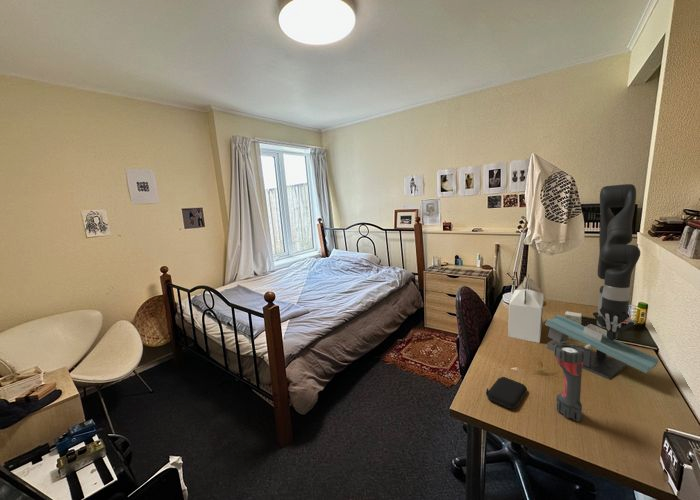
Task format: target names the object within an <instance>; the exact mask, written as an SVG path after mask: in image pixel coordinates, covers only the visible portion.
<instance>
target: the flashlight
mask: <svg viewBox="0 0 700 500" xmlns="http://www.w3.org/2000/svg"><path fill="white" fill-rule="evenodd" d="M566 342H567V341H565V342H560V344H555V349H554V351H553V353H554V354H553V356H555V360H556V363H558V365H559V366H560V368H561V369H562V370H563V371H562V372H563V374H562V375H563V384H564V386H563V387H564V389H563V391H562V393H559V394H557V395H556V401H555V402H556V411H557V412H558V413H561V414H562V416H563V417H564V418H566V419H572V420H573V421H576V422H578V423H579V422H581V421H582V412H583V411H582V410H583V404H582V402H581V393H582V391H581V390H582V376H583V370H584V369H583V362H584V354H585V353H584V350H583V349H580V348H579V347H580V345H578V344H577V343H576V344H575V343H573V344H571V343H570V344H566Z"/></svg>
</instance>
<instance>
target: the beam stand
mask: <svg viewBox="0 0 700 500" xmlns="http://www.w3.org/2000/svg"><path fill="white" fill-rule="evenodd" d="M562 342H566V344H571V343H570V342H567V341H566V340H564V341H562ZM555 344H560V343H559V342H557V341H555V340H553V339H552V340H550V341H548V342H547V343H546V349H548V350H550V351H553V352H554V349H555ZM579 348H580V349H583V350H584V353H585V354H584V362H583V369H582V370H585V371H588V372H590V373H593V374H595V375H598V376H600V377H602V378H604V379H607V380H610V379H611V378H612V377H614V376H615V375H617V374H618V373H619V372H621V371H622V370H624V369H625V368H626V367H628V364H626V363H624V362H622V361H620V360H618V359H616V358H614V357H611V356H609V355H607V354H605V353H603V352H601V351H599V350H597V349H596V351H594V350H591V349H590V348H589V349H585V347H583V346H580V345H579Z"/></svg>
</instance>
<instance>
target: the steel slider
mask: <svg viewBox="0 0 700 500" xmlns="http://www.w3.org/2000/svg"><path fill="white" fill-rule="evenodd" d="M583 335H586V336H588V337H590V338H592V339H594V340H596V341H599V342H601V343H604V342H605V340H606V337H607V329H605V328H603V327H600V326H598V325H595V324H592V323H589V324H587V325H585V327H584V331H583Z"/></svg>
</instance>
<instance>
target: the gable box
mask: <svg viewBox="0 0 700 500" xmlns="http://www.w3.org/2000/svg"><path fill="white" fill-rule="evenodd" d="M544 295H545V294H544V293H543V291H542V290H541V289H540V287H539V286H538V284H537V283H536V281H534V280H533V279H530V274H527V277H526V276H525V275H524V278H523V280H522V282H521V283H520V284H519V286H517V288H516V289H515V290H514V291H513V293H512V296H511V298H510V301H509V304H508V323H507V324H508V327H507V331H508V332H507V337H508V338H512V339H517V340H521V341H526V342H533V343H537V344H540V343H541V337H542V330H543V329H542V327H543V315H544V314H543V313H544Z"/></svg>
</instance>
